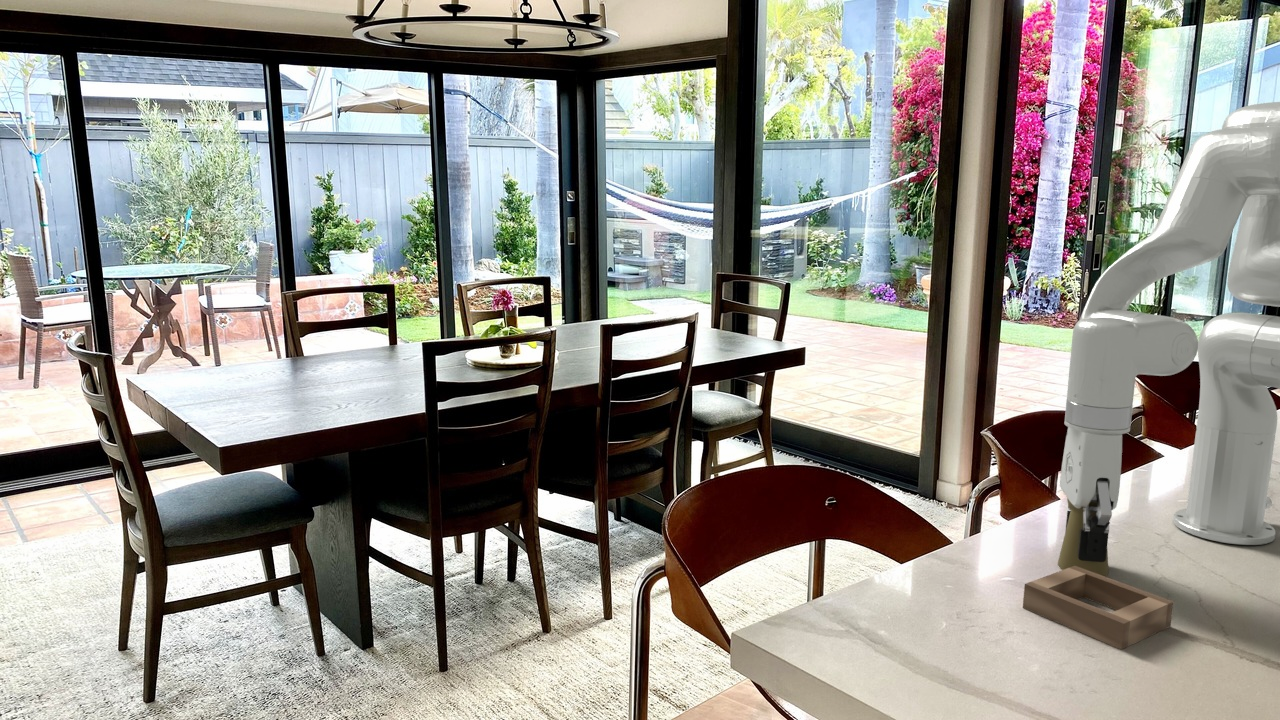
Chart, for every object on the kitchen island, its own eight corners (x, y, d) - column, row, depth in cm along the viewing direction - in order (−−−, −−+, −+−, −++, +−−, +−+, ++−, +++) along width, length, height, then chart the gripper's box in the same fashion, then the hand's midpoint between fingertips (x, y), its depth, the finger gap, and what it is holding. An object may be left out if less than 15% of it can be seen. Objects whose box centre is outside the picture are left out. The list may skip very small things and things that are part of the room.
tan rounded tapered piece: (1114, 579, 119) (1123, 496, 117) (1063, 575, 120) (1071, 493, 118) (1101, 561, 125) (1109, 481, 123) (1052, 557, 126) (1060, 478, 124)
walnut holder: (1072, 588, 116) (1074, 565, 116) (1170, 626, 106) (1173, 601, 106) (1022, 607, 111) (1024, 583, 110) (1121, 649, 101) (1124, 623, 100)
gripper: (1051, 399, 128) (1040, 524, 131) (1083, 431, 111) (1069, 574, 114) (1110, 402, 126) (1097, 529, 129) (1152, 435, 109) (1135, 579, 113)
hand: (1084, 549), depth 122 cm, fingers open, 6 cm apart
